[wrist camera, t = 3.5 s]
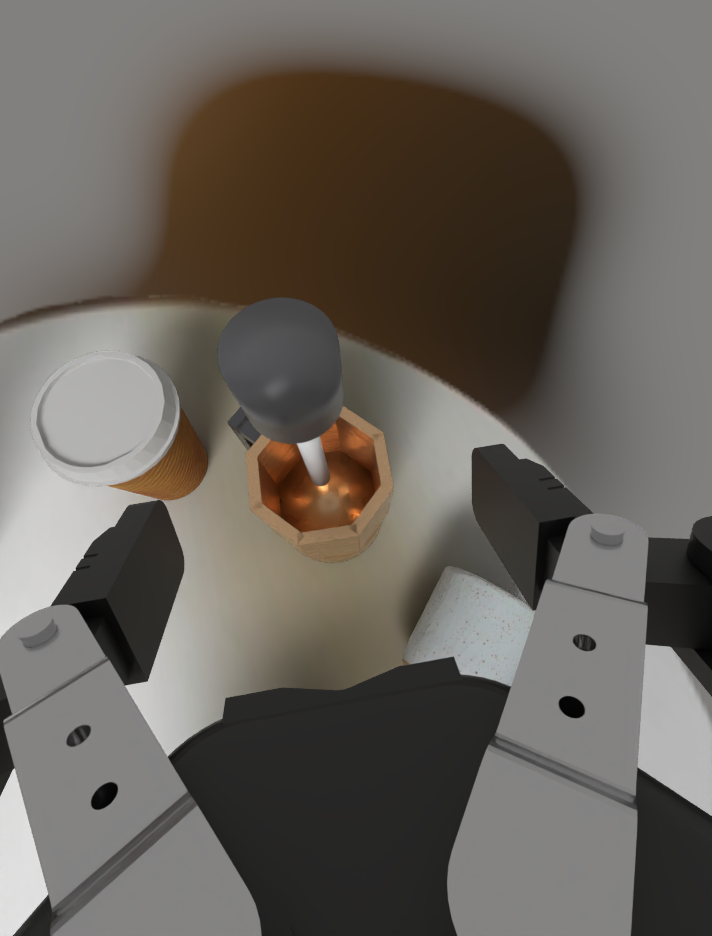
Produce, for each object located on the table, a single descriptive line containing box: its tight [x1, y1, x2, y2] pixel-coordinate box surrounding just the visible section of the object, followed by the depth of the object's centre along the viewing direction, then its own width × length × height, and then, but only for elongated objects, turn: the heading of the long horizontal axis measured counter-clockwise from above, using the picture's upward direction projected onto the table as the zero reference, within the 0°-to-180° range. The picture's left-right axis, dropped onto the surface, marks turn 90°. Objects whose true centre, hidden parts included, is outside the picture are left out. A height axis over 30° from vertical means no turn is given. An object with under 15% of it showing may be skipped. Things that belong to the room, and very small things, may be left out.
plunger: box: [217, 298, 344, 486], centre depth 22 cm, size 4×4×15 cm
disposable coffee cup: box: [30, 350, 208, 500], centre depth 35 cm, size 10×10×12 cm
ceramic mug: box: [403, 566, 536, 686], centre depth 32 cm, size 11×8×8 cm
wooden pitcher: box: [227, 406, 393, 563], centre depth 34 cm, size 11×9×12 cm
